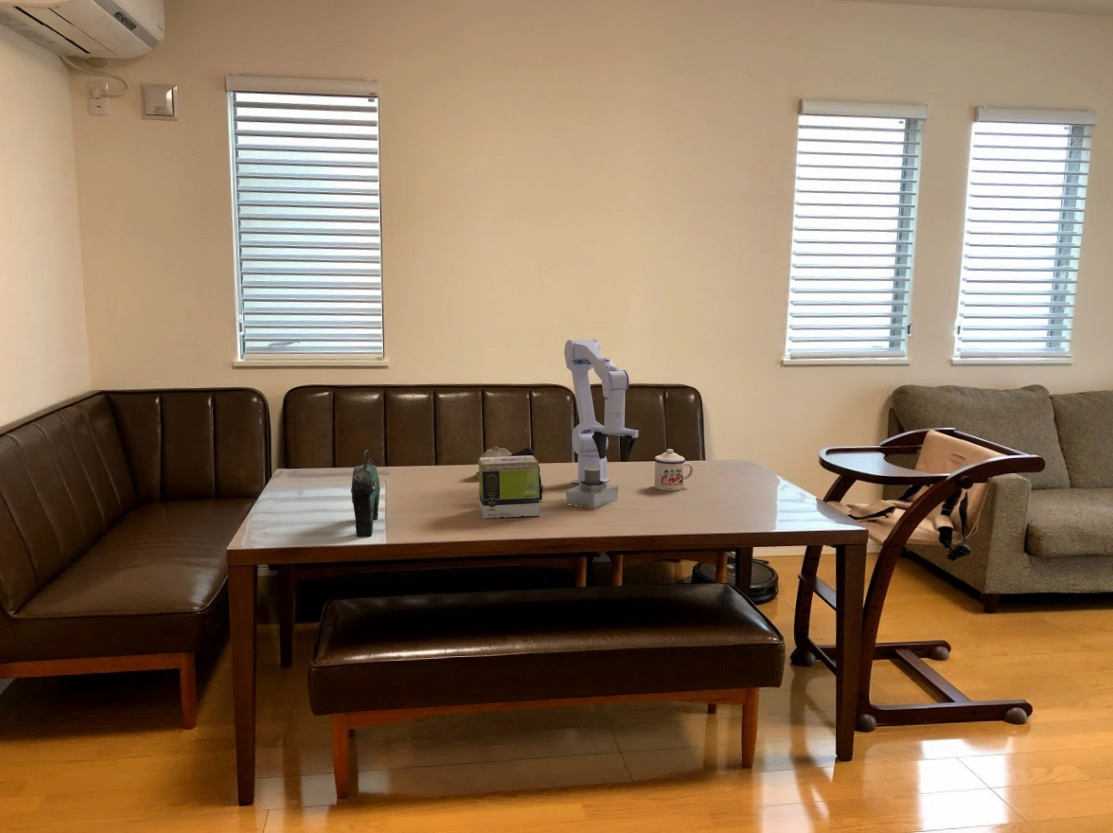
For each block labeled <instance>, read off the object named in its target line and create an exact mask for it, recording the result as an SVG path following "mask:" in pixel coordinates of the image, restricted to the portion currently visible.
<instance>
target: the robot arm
mask: <svg viewBox="0 0 1113 833" xmlns="http://www.w3.org/2000/svg"><path fill="white" fill-rule="evenodd" d="M563 354H564V359H565V365H566V369H568V370H569V371H570V372H571V376H572V377H571V378H572V382H573V383H572V384H573V389H574V396H575V402H576V408H577V414H578V420H579V421H578V422H579V423H578V424H577V425H576V426H575V427H574V428H573V430H572V432H571V435H572V439H571V441H572V442H571V443H572V445H571V446H572V448H573V451H574V452H575V453H576V454H577V479H574V480H572V482H573V483H572V482H571V483H572V484H578V483H579V482H580V481H583V480H584V471H585V469H584V466H588V465H596V466H600V467H601V470H600V481H604V482H605V483H607V482H608V481H610V478H608V477H607V476H608V459H607V457H606V454H607V452H606V451H607V449H608V447H609V438H608V435H609V436H611V435H612V436H620V442H621V448H622V462H623V463H626V462H629V460H630V459H629V458H630V455H631V452H632V449H633V447H634V445H635V442H636V441H637V439H638V438H639V429H632V428H628V427H627V428H626V427H625V417H626V416H625V415H626V410H625V409H626V391H627V390H628V389H629V386H630V376H629V374H628V372H627V370H625V369H618V367H617V366H616V365H615V363H614V362H613V361H612V360H611V359H610V358H609V357H604V356H603V354H602V353H601V345H600V342H599V341H598V340H597V339H596V338H594V339H568V340H567V341H566V342H565V344H564V351H563ZM592 369H593V371H594V372H595V374H596V375H597V377H598V378H599V379H600V380H601V386H602V394H603V397H604V418H603V419H604V422H603V424H601V423H600V422H598V421H597V420H596V415H595V409H594V402H593V395H592V390H591V385H590V378H589V371H590V370H592Z"/></svg>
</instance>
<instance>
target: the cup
mask: <svg viewBox="0 0 1113 833" xmlns="http://www.w3.org/2000/svg"><path fill="white" fill-rule="evenodd" d="M584 469H585V471H584V484H586V485H600V470H601V467H600V466H596V465H588V466H584Z"/></svg>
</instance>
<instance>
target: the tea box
mask: <svg viewBox="0 0 1113 833" xmlns="http://www.w3.org/2000/svg"><path fill="white" fill-rule="evenodd" d="M480 457H481V456H480ZM480 457H478V459H479V465H478V471H479V479H478V480H479V481H478V482H479V483H478V486H479V487H478V489H479V490H478V492H479V493H478V495H479V510H480V512H481V515H482V518H483V519H500V517H504V518H518V517H519V518H520V517H521V516H524V517H540V501H539V467H540V465H539V461H538V460H537V459H536V457H535V458H534V457H533V455H527V456H503V457H481V458H480ZM494 517H495V518H494Z"/></svg>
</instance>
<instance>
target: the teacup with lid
mask: <svg viewBox="0 0 1113 833" xmlns="http://www.w3.org/2000/svg"><path fill="white" fill-rule="evenodd" d="M653 460H654V488H655V489H657V490H660V491H664V492H665V491H667V492H675V491H681V490H682V489H684V487H685V486H684V482H685V480H686V481H687V480H689V479H690V478H691V477H692V476H693V473H694V467H693V465H692V464H691V463H689V462H686V459H685V457H684V456H682V455H679V454H678V453H676V452H674V449H671V448H668V449H667V450H666V451H665V452H663V453H661V454H659V455H655V457H654V459H653ZM686 466H687V467H689V469H690V470H689V473H688V475H686V476H685V467H686Z"/></svg>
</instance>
